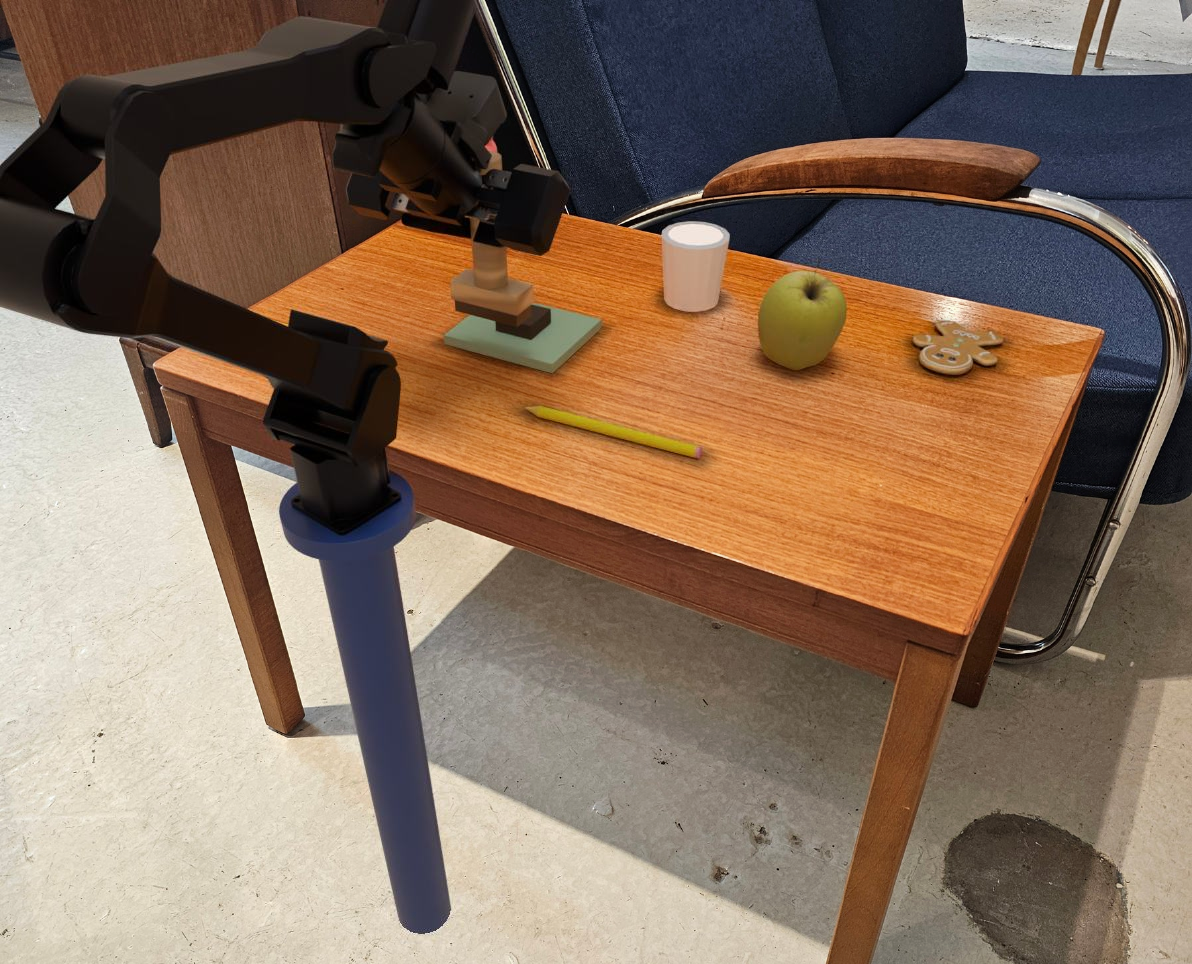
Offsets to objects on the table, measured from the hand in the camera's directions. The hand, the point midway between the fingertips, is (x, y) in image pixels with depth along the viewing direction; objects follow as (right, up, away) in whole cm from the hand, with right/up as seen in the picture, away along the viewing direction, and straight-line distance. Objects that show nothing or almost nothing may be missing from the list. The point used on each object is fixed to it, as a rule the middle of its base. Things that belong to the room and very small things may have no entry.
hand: (497, 238), depth 93 cm
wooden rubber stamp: (-1, -6, +3) cm, 7 cm away
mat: (+2, -6, +10) cm, 12 cm away
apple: (+28, -9, +7) cm, 30 cm away
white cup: (+19, -1, +17) cm, 25 cm away
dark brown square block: (+2, -5, +10) cm, 11 cm away
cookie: (+43, -8, +8) cm, 45 cm away
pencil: (+10, -18, -2) cm, 20 cm away
